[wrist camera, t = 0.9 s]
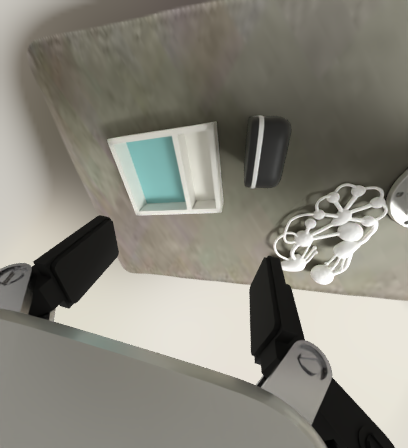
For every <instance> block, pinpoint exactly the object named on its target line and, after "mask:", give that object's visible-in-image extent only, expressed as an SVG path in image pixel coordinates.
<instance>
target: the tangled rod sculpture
mask: <svg viewBox="0 0 408 448" xmlns="http://www.w3.org/2000/svg"><path fill="white" fill-rule="evenodd" d="M344 186H350V187H352V189H351V194H352V195H353V197H352V198H351V199H350V201H349V202H348V203H347V204H346V206H345V207H344V208H342V207H341V205H340V204H339V202H338V200H339V198H340V196H339V194H338V193H337V192H338V191H339V189H340V188H342V187H344ZM369 189H375V190H378V191H379V193H380V197H375V198H373V199H372V200H371V201H370V204H367V205H364V206H361V207H358V208H355V209H352V210H348V209H349V208H350V207H351V206H352V204H353V203H354V202H355V200H356V199H357V198H358V197H359V196H362V195H363V194H364V193H365V191H366V190H369ZM383 197H384V192H383V190H382V189H381V188H379V187H376V186H370V187H364V186H361V185H357V186H355V185H353V184H349V183H345V184H342V185H340V186H338V187H337V188H336V189H335V191H334V192H331V193H329V194H328V195H326V196H323V197H321V198H320V199H319V200H318V201H317V202H316V204H315V211H314V212H313V213H305V214H300V215H297V216H294V217H292V218H291V219H290V220H289V221H288V222H287V224H286V227H285V230H284V233H283V234H281V235H280V236H278V237H277V238H276V239H275V241H274V244H273V248H274V251H275V253H276V254H277V255H278V256H279V257H281V258H283V259H285V261H282V262H281V266H282V269H283V270H285V271H301V270H303V269H304V268H305V266H306V264H307V263H308V262H309V261H310V260H311V259H312V258H313V256H314V255H315V254H317V253H318V251H317V250H316V249H317V247H316V246H313V247H312V249H311V251H310V252H309V254H308V255H307V256H306V257H305V258H303V257H304V256H305V254H306V253H307V251H308V249H309V247H310V246H311V243H312V242H313V240H317V239H322V238H328V237H333V236H339V237H340V238H341V239H342V240H345V241H342V242H340V243H338V244H336V245H335V246H334V248H333V253H334V256H333V257H332V259H331V260H330V261H328V262H325V263H324V264H325V265H329V263H330V262H331V261H333V260H334V258H335V257H336V256H337V257H338V259H337V261H336V263H335V264H334V266H333V267H332V266H331V267H330V268H329V267H327V266H325V265H316V266H314V267H313V268H312V270H311V277H312V278H313V280H314V281H315V282H317V283H319V284H329V283H330V282H332V280H333V278H334V275H337V274H339V273H342V272H343V271H345V270H346V269H347V268H348V267H349V264H350V261H351V258H352V256H353V253H354V252H355V251H356V250H357V249H358V248H359V247H360V245H361V244H363V243H365V242H366V241H368V239H369V238H370V237H371V236H372V235H373V234H374V233H375V232H376V231H377V229H378V221H377V220H379V219H381V218H383V217H384V216H385V215H386V214H387V212H388V208H387V205H386V201H385V199H384V198H383ZM325 198H326V199H327V201H328V202H330V203H334V205H335V206H336V207H337V209H338V210H339V211H338V212H337V213H336V214H330V213H325V212H324V211H323V210H321V209H318V205H319V202H320V201H322V200H323V199H325ZM370 207H374V208H381V207H383V208H384V212H383V214H382V215H381V216H379V217H377V218H373V217H372V216H364V217H362V218H352V213H355V212H358V211H361V210H364V209H367V208H370ZM303 216H313V217H314V218H315V219H322V218H324V216H326V217H333V218H334V219H333V220H332V221H331V223H330V224H328V225H326V226H324V227H322V228H320V229H319V230H317V231H315V232H313V233H310V232H309V230H310V228H314V227H315V226H316V221H315V220H314V219H307V220H306V221H305V226H306V230H302V231H299V232H297V233H294V232H287V230H288V227H289V225H290V223H291V221H293V220H294V219H296V218H299V217H303ZM348 221H355V222H361V224H362V225H364V226H372V228H371V229H370V231H369V232H367V233H366V235H365V236H364V237H363V238H362V239H361V240H359V239H360V238H361V237H362V235H363V229H362V227H361V226H360V225H359V224H357V223H355V222H348ZM339 225H340V226H339ZM332 226H339V227H338V230H337V232H336V233H331V234H326V235H321V236H316V237H313V236H314V235H316V234H318V233H320V232H322V231H324V230H326V229H328V228H330V227H332ZM287 234H293V235H295V237H294V239H295V240H294V241H287V240H286V235H287ZM281 237H283V240H284V242H285V243H289V244H292V243H296V244H295V245H294V246H293V247H292V248H291V251H290V256H291V257H289V258H286V257H284V256H282V255H280V254H279V253H278V252H277V250H276V243H277V241H278V240H279V239H280V238H281ZM357 240H359V241H357ZM299 246H302V247H305V246H307V247H306V250H305V252H304V253H303V255H302V256H301V255H299V254H295V255H294V252H295V250H296V249H297V248H298V247H299ZM312 252H313V254H312V255H311V253H312ZM310 255H311V256H310ZM309 256H310V258H309V259H308V260H307V261H305V260H306V259H307V258H308V257H309ZM341 258H342V259H343V260H342V263H341V268H340V269H338V270H336V271H332V270H334V268H335V266H336V265H337V264H338V262H339V260H340V259H341ZM345 259H346V261H345ZM344 261H345V264H344ZM343 264H344V265H343Z"/></svg>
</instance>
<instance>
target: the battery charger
mask: <svg viewBox="0 0 408 448" xmlns="http://www.w3.org/2000/svg"><path fill="white" fill-rule="evenodd" d="M290 136H291V125H290V123H289V121H288V120H287V119H285V118H283V117H279V116H262V115H258V116H254V117H249V119H248V128H247V138H246V148H245V158H244V183H245V186H246V187H250V188H272V187H275V186H276V185H278V183H279V182H280V180H281V176H282V172H283V167H284V163H285V159H286V154H287V150H288V145H289V140H290Z"/></svg>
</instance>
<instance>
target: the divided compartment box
mask: <svg viewBox="0 0 408 448" xmlns="http://www.w3.org/2000/svg"><path fill="white" fill-rule="evenodd" d="M107 142H108V144H109V147H110V149H111V152H112V154H113V157H114V160H115V162H116V165H117V167H118V170H119V172H120V175H121V177H122V180H123V182H124V185H125V187H126V190H127V193H128V195H129V198H130V200H131V203H132V205H133V208H134V210H135V213H136V215H166V214H197V213H222V208H223V203H224V200H223V188H222V177H221V165H220V153H219V142H218V130H217V121H216V122H209V123H203V124H196V125H190V126H184V127H177V128H171V129H164V130H158V131H151V132H145V133H139V134H132V135H126V136H120V137H115V138H110V139H107Z"/></svg>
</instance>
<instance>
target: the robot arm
mask: <svg viewBox="0 0 408 448" xmlns="http://www.w3.org/2000/svg"><path fill="white" fill-rule="evenodd" d="M386 205H387V208H388V212H387V213H388V214H389V216H390V217H391V218H392V219H393V220H394V221H396V222H397V223H398V224H400V225H402V226H404V227H407V228H408V169H407V170H406V171H405V172H404V173H403V174H402V175H401V176H400V177H399V178H398V179H397V180H396V182H395V183H394V184H393V186H392V187H391V189H390V191H389V193H388V195H387V199H386ZM118 253H119V251H118V246H117V241H116V236H115V231H114V225H113V221H111V219H110V218H109V217H105V216H101V215H100V216H97V217H96V218H94V219H93V220H92V221H90V222H89V223H87V224H86V225H84V226H83V227H82V228H80V229H79V230H77V231H76V232H75V233H73V234H72V235H70V236H69V237H67V238H66V239H65V240H63V241H62V242H60V243H59V244H58V245H56V246H55V247H53V248H52V249H50V250H49V251H48V252H46V253H45V254H43V255H42V256H41V257H39V258H38V259H37V260H35V261H34V264H35V265H34V266H32V267H31V266H30V265H29V264H26V263H18V264H12V265H9V266H6V267H4V268H2V269H0V448H395V447H394V445H393V444H392V443H391V441H390V440H389V439H388V438H387V437H386V435H385V434H384V433H383V432H382V431H381V430H380V429H379V427H377V425H376V424H375V423H374V422H373V421H372V420H371V419H370V418H369V417H368V416H367V414H365V412H364V411H363V410H362V409H361V408H360V407H359V406H358V405H357V404H356V403H355V402H354V400H353V399H352V398H351V397H350V396H349V395H348V394H347V393H346V392H345V391H344V390H343V389H342V387H341V386H340V385H339V384H338V383H337V382H336V381H335V380H334V379H333V378H332V370H331V366H330V364H329V361H328V360H327V358H326V356H325V355H324V353H323V352H322V351H321V350H320V349H319V348H318V347H316V346H315V345H314V344H312V343H310V342H308V341H305V339H304V335H303V331H302V327H301V324H300V320H299V316H298V312H297V308H296V305H295V301H294V297H293V293H292V289H291V287H290V285H288V284H286V283H285V279H284V275H283V270H282V266H281V262H280V259H279V258H276V257H272V256H268V257H267V258H265V257H264V259H263V261H262V263H261V265H260V267H259V269H258V271H257V273H256V275H255V277H254V280H253V282H252V284H251V286H250V292H249V293H250V331H251V354H252V355H253V356H255V363H257V364H260V365H261V368H262V374H263V376H262V377H261V379H260V380H259V381H258V383H257V384H256V385H253V384H251V383H248V382H246V381H243V380H240V379H238V378H235V377H232V376H229V375H225V374H223V373H220V372H216V371H213V370H210V369H208V368H204V367H201V366H198V365H195V364H191V363H188V362H185V361H182V360H178V359H175V358H172V357H169V356H166V355H162V354H159V353H155V352H153V351H149V350H146V349H143V348H139V347H136V346H133V345H130V344H126V343H123V342H120V341H116V340H113V339H110V338H106V337H103V336H100V335H97V334H93V333H90V332H86V331H83V330H80V329H76V328H73V327H70V326H66V325H63V324H59V323H56V322H54V315H55V308H56V307H57V306H58V305H60V306H62V307H65V308H70V307H71V306H72V305H73V304H74V303H76V302H78V301H79V300H80V298H81V297H82V296H83V295H84V294H85V293H86V292H87V291H88V289H89V288H90V287H91V286H92V285H93V284H94V283H95V281H96V280H97V279H98V278H99V277H100V276H101V275H102V274H103V272H104V271H105V270H106V269H107V268H108V267H109V265H111V263H112V262H113V261H114V260H115V259H116V258H117V256H118Z"/></svg>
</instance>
